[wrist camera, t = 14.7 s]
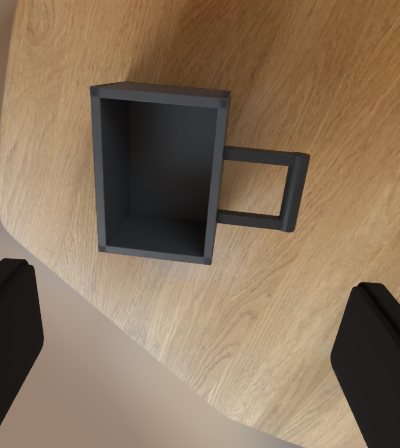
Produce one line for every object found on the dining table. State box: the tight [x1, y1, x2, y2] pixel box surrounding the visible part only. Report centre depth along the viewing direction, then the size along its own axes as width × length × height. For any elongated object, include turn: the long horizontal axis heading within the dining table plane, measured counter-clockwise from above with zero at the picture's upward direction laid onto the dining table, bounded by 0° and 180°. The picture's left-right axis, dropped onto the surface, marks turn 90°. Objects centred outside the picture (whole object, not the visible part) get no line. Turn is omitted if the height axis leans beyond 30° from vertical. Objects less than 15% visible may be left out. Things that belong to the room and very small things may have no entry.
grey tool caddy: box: [90, 82, 310, 265], centre depth 34 cm, size 18×15×9 cm
